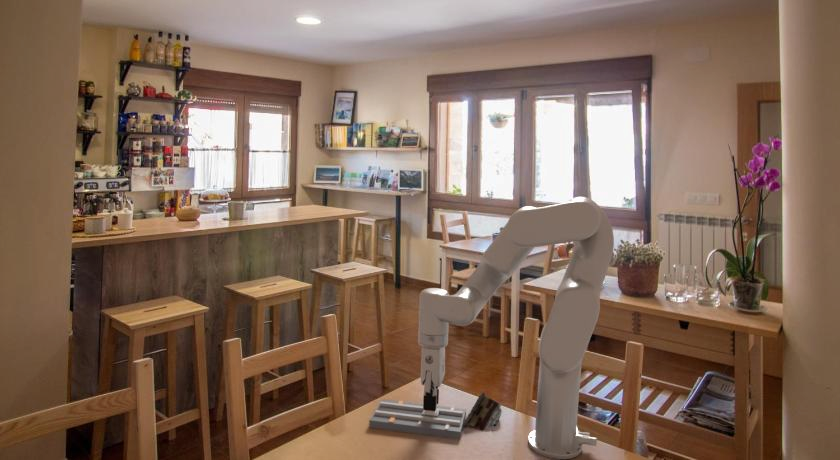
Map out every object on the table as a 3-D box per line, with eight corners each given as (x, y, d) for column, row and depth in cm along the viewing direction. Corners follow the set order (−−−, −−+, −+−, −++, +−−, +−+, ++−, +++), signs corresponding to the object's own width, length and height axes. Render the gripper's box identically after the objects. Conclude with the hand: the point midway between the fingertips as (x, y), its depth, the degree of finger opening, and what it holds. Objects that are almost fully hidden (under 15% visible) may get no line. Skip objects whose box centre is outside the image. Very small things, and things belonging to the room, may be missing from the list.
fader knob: (439, 412, 139) (440, 388, 138) (437, 418, 136) (438, 393, 135) (424, 411, 140) (424, 386, 139) (421, 416, 137) (422, 391, 136)
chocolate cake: (487, 438, 133) (508, 396, 138) (462, 424, 135) (484, 383, 140) (487, 447, 141) (507, 406, 146) (463, 433, 143) (484, 394, 148)
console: (465, 416, 142) (466, 406, 142) (460, 439, 131) (460, 428, 130) (381, 406, 147) (382, 396, 146) (369, 427, 135) (369, 417, 135)
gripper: (442, 350, 126) (440, 424, 129) (452, 329, 142) (449, 394, 145) (411, 347, 128) (409, 420, 130) (424, 326, 144) (422, 391, 146)
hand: (430, 406), depth 138 cm, fingers closed on fader knob, 3 cm apart
